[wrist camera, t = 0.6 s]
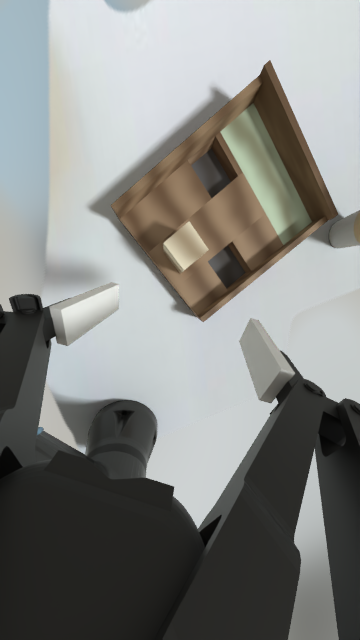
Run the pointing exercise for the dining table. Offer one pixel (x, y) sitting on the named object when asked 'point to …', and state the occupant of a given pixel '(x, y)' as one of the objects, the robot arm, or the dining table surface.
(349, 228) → the coffee cup
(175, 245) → the birch block
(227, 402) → the dining table surface
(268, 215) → the box
